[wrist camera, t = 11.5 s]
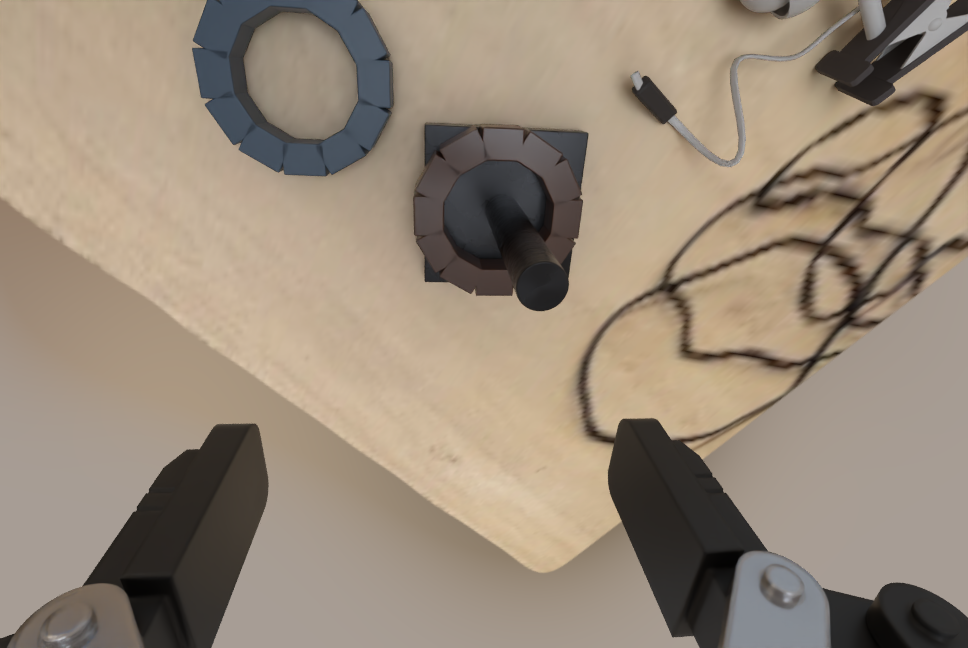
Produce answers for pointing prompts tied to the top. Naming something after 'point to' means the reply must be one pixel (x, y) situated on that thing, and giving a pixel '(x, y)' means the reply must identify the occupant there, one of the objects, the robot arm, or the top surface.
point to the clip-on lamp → (842, 54)
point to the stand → (508, 215)
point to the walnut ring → (467, 155)
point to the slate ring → (221, 76)
